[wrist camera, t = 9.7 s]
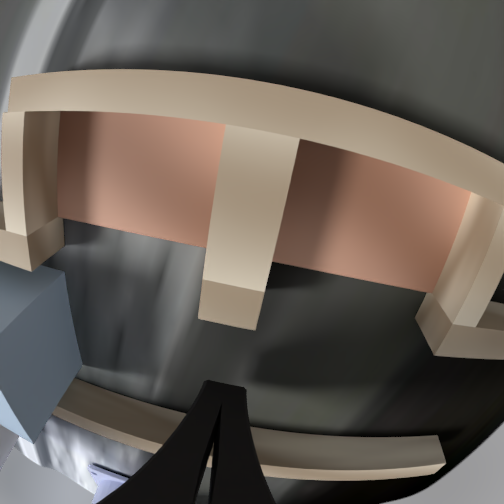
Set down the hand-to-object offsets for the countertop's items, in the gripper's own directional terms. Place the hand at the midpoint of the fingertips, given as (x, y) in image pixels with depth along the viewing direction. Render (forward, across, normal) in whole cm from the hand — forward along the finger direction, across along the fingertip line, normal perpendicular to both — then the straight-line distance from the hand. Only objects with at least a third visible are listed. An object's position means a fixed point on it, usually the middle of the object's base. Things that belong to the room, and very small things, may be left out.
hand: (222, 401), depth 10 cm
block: (+2, +9, 0) cm, 9 cm away
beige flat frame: (+2, +1, -2) cm, 3 cm away
